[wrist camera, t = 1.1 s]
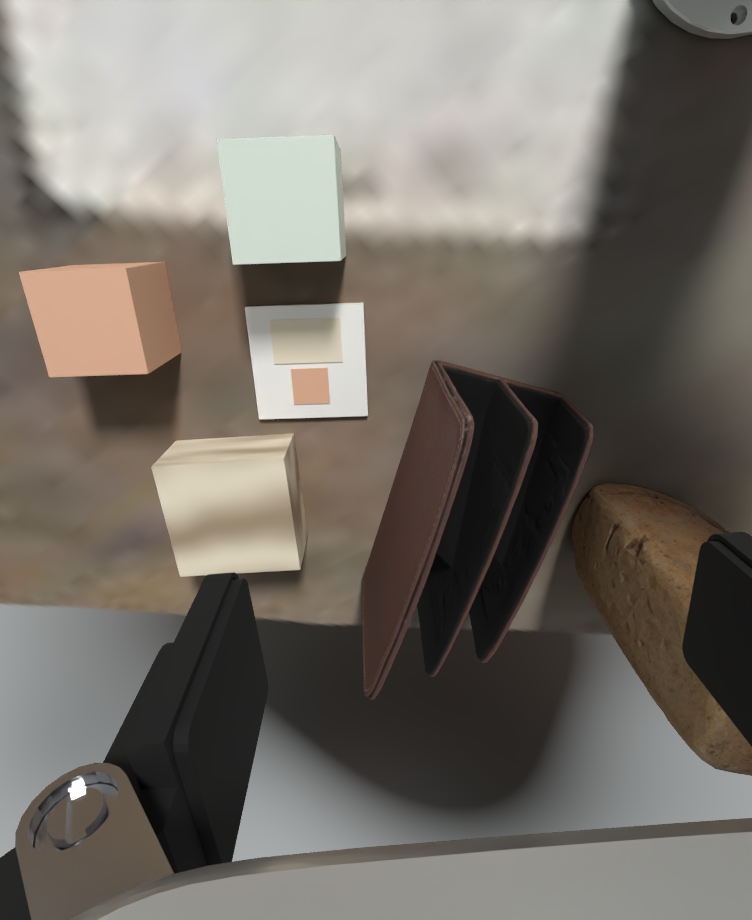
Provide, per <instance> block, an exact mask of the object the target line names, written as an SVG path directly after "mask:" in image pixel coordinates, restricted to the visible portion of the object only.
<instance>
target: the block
mask: <svg viewBox="0 0 752 920" xmlns="http://www.w3.org/2000/svg"><path fill="white" fill-rule="evenodd" d="M721 533H730V532H728V531H726V530H725V529H724V528H723V527H721V526H720V525H719V524H718V523H716V522H715V521H714V520H712V519H711V518H709V517H708V516H706V515H705V514H703V513H702V512H700V511H699V510H696V509H694V508H692V507H691V506H689V505H687V504H685V503H683V502H681V501H679V500H677V499H674V498H672V497H669V496H667V495H664V494H662V493H659V492H656V491H653V490H650V489H646V488H643V487H638V486H633V485H627V484H614V483H605V484H600V485H598V486H596V487H594V488H592V490H591V491H590V492H589V494H588V495H587V497H586V498H585V500H584V501H583V502H582V504H581V506H580V508H579V510H578V512H577V514H576V517H575V520H574V523H573V530H572V541H573V547H574V551H575V564H576V569H577V572H578V575H579V577H580V579H581V580H582V582H583V585H584V587H585V589H586V590H587V592H588V594H589V596H590V598H591V600H592V602H593V603H594V605H595V607H596V608H597V610H598V611H599V613H600V615H601V617H602V618H603V620H604V622H605V623H606V625H607V626H608V628H609V630H610V631H611V633H612V635H613V637H614V638H615V640H616V642H617V643H618V645H619V647H620V648H621V649H622V651H623V653H624V655H625V656H626V658H627V659H628V661H629V662H630V664H631V665H632V667H633V669H634V670H635V672H636V673H637V675H638V676H639V678H640V679H641V680H642V682H643V683H644V685H645V687H646V688H647V690H648V692H649V693H650V695H651V696H652V698H653V699H654V700H655V702H656V703H657V705H658V706H659V707H660V708H661V710H662V711H663V712H664V714H665V716H666V717H667V719H668V721H669V722H670V723H671V725H672V726H673V727H674V728H675V730H676V731H677V732H678V734H679V735H680V736H681V737H682V739H683V740H684V741H685V742H686V743H687V745H688V746H689V747H690V748H691V749H692V750H693V751H694V752H695V753H696V754H697V755H698V756H699V757H700V758H701V759H702V760H703V761H705V762H706V763H708V764H709V765H711V766H712V767H714V768H715V769H719V770H724V771H728V772H733V773H739V774H745V775H751V776H752V747H751V745H750V744H749V743H748V741H747V740H746V739H745V738H744V736H743V735H742V734H741V732H740V731H739V730H738V729H737V727H736V726H735V725H734V723H733V722H732V721H731V720H730V718H729V717H728V716H727V714H726V713H725V712H724V710H723V709H722V708H721V707H720V705H719V704H718V703H717V701H716V700H715V699H714V698H713V696H712V695H711V694H710V692H709V691H708V690H707V689H706V687H705V686H704V685H703V683H702V682H701V681H700V679H699V678H698V677H697V676H696V674H695V673H694V672H693V670H692V669H691V668H690V667H689V665H688V664H687V662H686V660H685V658H684V655H683V650H682V644H683V638H684V633H685V627H686V622H687V616H688V611H689V605H690V600H691V594H692V589H693V583H694V578H695V572H696V567H697V561H698V556H699V550H700V547H701V545H702V544H703V543H704V542H707V540H708V538H709V537H710V536H711V535H713V534H721Z"/></svg>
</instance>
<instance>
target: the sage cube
mask: <svg viewBox="0 0 752 920" xmlns="http://www.w3.org/2000/svg"><path fill="white" fill-rule="evenodd" d="M216 141H217V149H218V156H219V164H220V171H221V179H222V186H223V194H224V201H225V208H226V216H227V223H228V231H229V238H230V246H231V253H232V261H233V265H235V264H264V263H293V262H322V261H341V260H342V259H343V258H344V257H345V256H346V241H345V222H344V202H343V183H342V163H341V150H340V147H339V145H338V143H337V141H336V138H335V136H334V135H312V136H285V137H258V138H231V139H216Z"/></svg>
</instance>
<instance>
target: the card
mask: <svg viewBox="0 0 752 920" xmlns="http://www.w3.org/2000/svg"><path fill="white" fill-rule="evenodd" d="M245 313H246V321H247V329H248V337H249V344H250V352H251V360H252V367H253V375H254V383H255V391H256V398H257V406H258V414H259V419H288V418H320V417H353V416H368V405H367V380H366V355H365V331H364V306H363V303H334V304H304V305H275V306H246V307H245Z"/></svg>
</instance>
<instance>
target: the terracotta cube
mask: <svg viewBox="0 0 752 920" xmlns="http://www.w3.org/2000/svg"><path fill="white" fill-rule="evenodd" d="M19 274H20V278H21V281H22V285H23V288H24V292H25V295H26V298H27V302H28V305H29V309H30V312H31V316H32V319H33V322H34V326H35V329H36V333H37V336H38V340H39V343H40V346H41V350H42V353H43V357H44V360H45V364H46V367H47V370H48V374H49V377H70V376H101V375H132V374H149V373H150V372H152V371H154V370H155V369H157V368H158V367H160V366H161V365H163V364H164V363H166V362H167V361H169V360H171V359H172V358H174V357H175V356H177V355H178V354H180V353H181V348H180V343H179V337H178V332H177V326H176V321H175V315H174V310H173V305H172V299H171V294H170V288H169V283H168V277H167V272H166V266H165V262H149V263H121V264H92V265H71V266H63V267H55V268H47V269H39V270H31V271H23V272H19Z"/></svg>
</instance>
